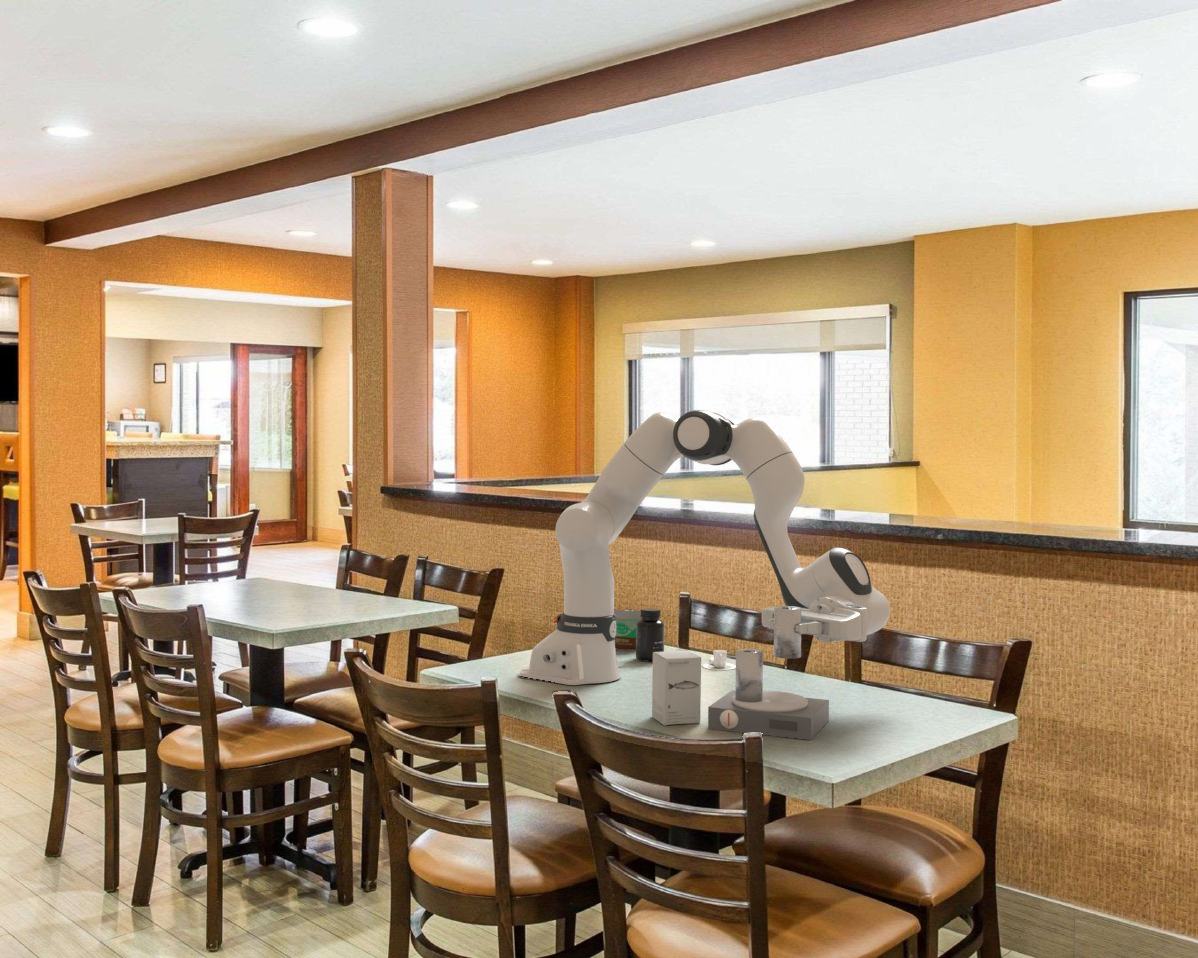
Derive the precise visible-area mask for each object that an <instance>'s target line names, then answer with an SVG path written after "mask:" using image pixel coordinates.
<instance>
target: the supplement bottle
mask: <svg viewBox="0 0 1198 958" xmlns="http://www.w3.org/2000/svg"><path fill="white" fill-rule="evenodd" d="M640 611H641V615H640V617H641V620H639V621H638V622H637V624H636V650H635V659H636V660H637V661H642V662H653V652H665V623H664V621H662V620H661V619H660V618H661V617H662V616H661V609H659V608H652V607H650V608H649V607H646V608H641V609H640Z"/></svg>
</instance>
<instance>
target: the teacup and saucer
mask: <svg viewBox="0 0 1198 958" xmlns="http://www.w3.org/2000/svg"><path fill="white" fill-rule="evenodd" d="M712 652H713V653H712V654H713V656H711V657H709V658H708V662H707V663H704V664H701V668H703V669H706V670H712V671H730V670H736V664H733V663H727V658H728V657H727V656H728V652H727V650H725V649H715V650H713V651H712ZM712 665H713V666H714V667H715V668H712V667H708V666H712ZM726 666H729V667H728V668H725V667H726ZM724 668H725V669H724Z"/></svg>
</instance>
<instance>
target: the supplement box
mask: <svg viewBox="0 0 1198 958" xmlns="http://www.w3.org/2000/svg"><path fill="white" fill-rule="evenodd" d="M651 679H652V681H651V683H652V684H651V685H652V688H651V690H652V691H651V700H652V701H651V703H652V704H651V716H652V718H653V719H655V720H656V721H658V722H659V723H660V724H661V725H663V726H664V727H665V726H668V725H686V724H700V723H701V707H702V706H701V698H702V697H701V693H702V691H701V690H702V685H701V684H702V657H701V656H700V655H698V654H696V653H694V652H691V651H690V650H671V651H664V652H653V661H652V678H651Z"/></svg>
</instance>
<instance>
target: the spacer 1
mask: <svg viewBox="0 0 1198 958" xmlns="http://www.w3.org/2000/svg"><path fill="white" fill-rule="evenodd" d="M735 665H736V668H735V689H734V691H735V699H736V700H737V701H741V702H760V701H762V697H763V691H764V690H763V689H764V688H763V687H764V686H763V683H764V682H763V681H764V678H763V676H764V651H763V650H761V649H756V648H740V649H739V648H738V649H736V650H735Z"/></svg>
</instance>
